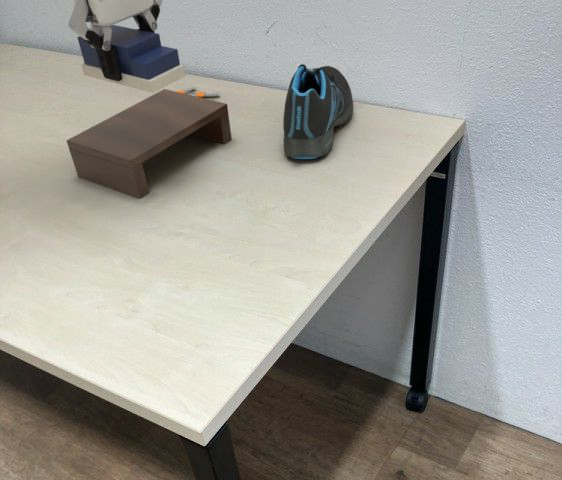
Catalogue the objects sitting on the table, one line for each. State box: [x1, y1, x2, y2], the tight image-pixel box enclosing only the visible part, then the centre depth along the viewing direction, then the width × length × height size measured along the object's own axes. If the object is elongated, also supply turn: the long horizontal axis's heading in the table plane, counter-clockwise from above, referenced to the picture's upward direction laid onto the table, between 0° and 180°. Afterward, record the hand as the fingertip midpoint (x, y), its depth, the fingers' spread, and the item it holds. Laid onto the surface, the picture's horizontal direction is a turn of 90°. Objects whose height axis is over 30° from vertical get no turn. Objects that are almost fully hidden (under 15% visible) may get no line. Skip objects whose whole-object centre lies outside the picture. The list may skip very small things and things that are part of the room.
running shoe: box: [282, 63, 354, 160], centre depth 100 cm, size 10×26×11 cm, turn 170°
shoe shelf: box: [66, 88, 232, 200], centre depth 98 cm, size 22×14×6 cm, turn 144°
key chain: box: [175, 86, 221, 98], centre depth 116 cm, size 13×7×1 cm, turn 118°
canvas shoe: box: [76, 24, 187, 94], centre depth 84 cm, size 14×6×5 cm, turn 53°
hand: (132, 68), depth 85 cm, fingers closed on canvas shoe, 6 cm apart
